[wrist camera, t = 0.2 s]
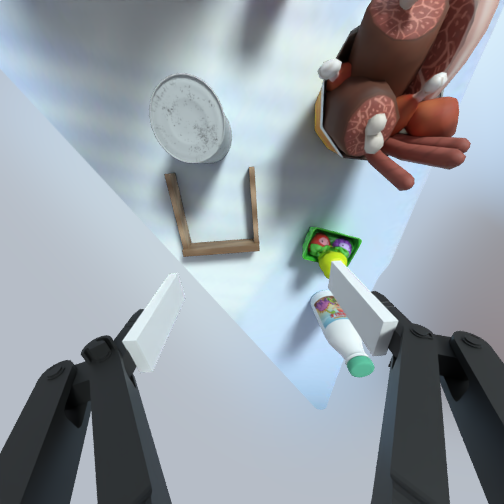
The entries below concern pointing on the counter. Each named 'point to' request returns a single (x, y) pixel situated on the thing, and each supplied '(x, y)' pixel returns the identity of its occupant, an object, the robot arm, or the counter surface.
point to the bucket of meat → (400, 84)
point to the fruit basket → (329, 248)
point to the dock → (215, 246)
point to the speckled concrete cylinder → (189, 120)
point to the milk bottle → (341, 333)
